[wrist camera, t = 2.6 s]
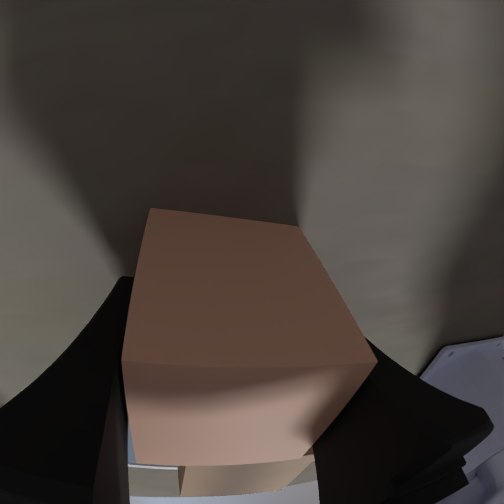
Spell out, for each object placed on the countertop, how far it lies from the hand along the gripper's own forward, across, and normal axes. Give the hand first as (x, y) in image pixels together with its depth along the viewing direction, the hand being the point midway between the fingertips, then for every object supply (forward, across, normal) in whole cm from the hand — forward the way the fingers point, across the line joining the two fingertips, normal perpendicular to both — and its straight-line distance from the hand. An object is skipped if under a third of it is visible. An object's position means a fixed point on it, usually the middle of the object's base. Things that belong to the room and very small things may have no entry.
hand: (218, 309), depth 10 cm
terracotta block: (+2, 0, 0) cm, 2 cm away
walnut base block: (+2, -3, +12) cm, 12 cm away
